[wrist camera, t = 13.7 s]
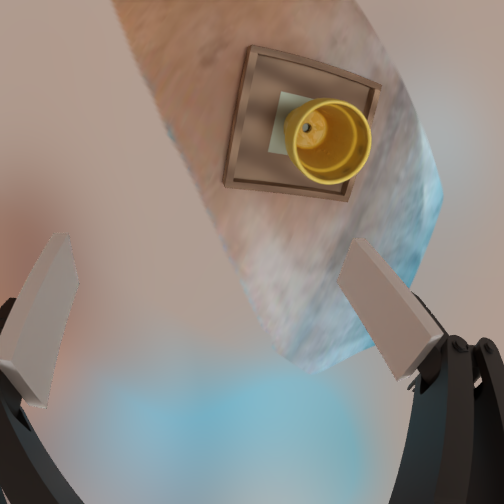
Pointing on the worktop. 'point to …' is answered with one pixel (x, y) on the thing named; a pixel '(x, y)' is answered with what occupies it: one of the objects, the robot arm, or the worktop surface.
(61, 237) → the robot arm
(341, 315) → the worktop surface
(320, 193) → the walnut tray
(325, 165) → the plant pot
